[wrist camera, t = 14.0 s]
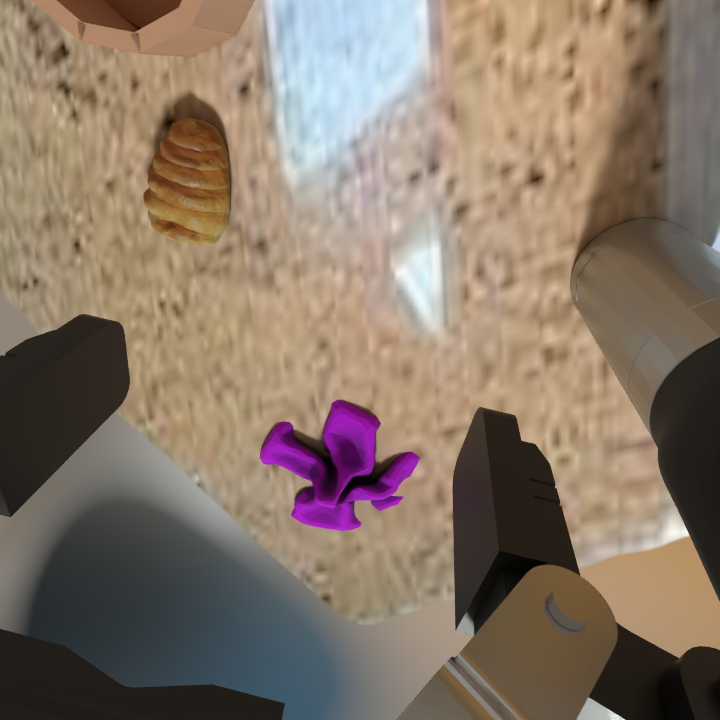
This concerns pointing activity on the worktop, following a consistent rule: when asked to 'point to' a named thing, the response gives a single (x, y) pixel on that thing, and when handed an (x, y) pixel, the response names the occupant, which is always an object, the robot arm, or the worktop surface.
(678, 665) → the robot arm
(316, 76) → the worktop surface
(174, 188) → the pastry
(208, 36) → the bowl
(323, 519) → the cloth
